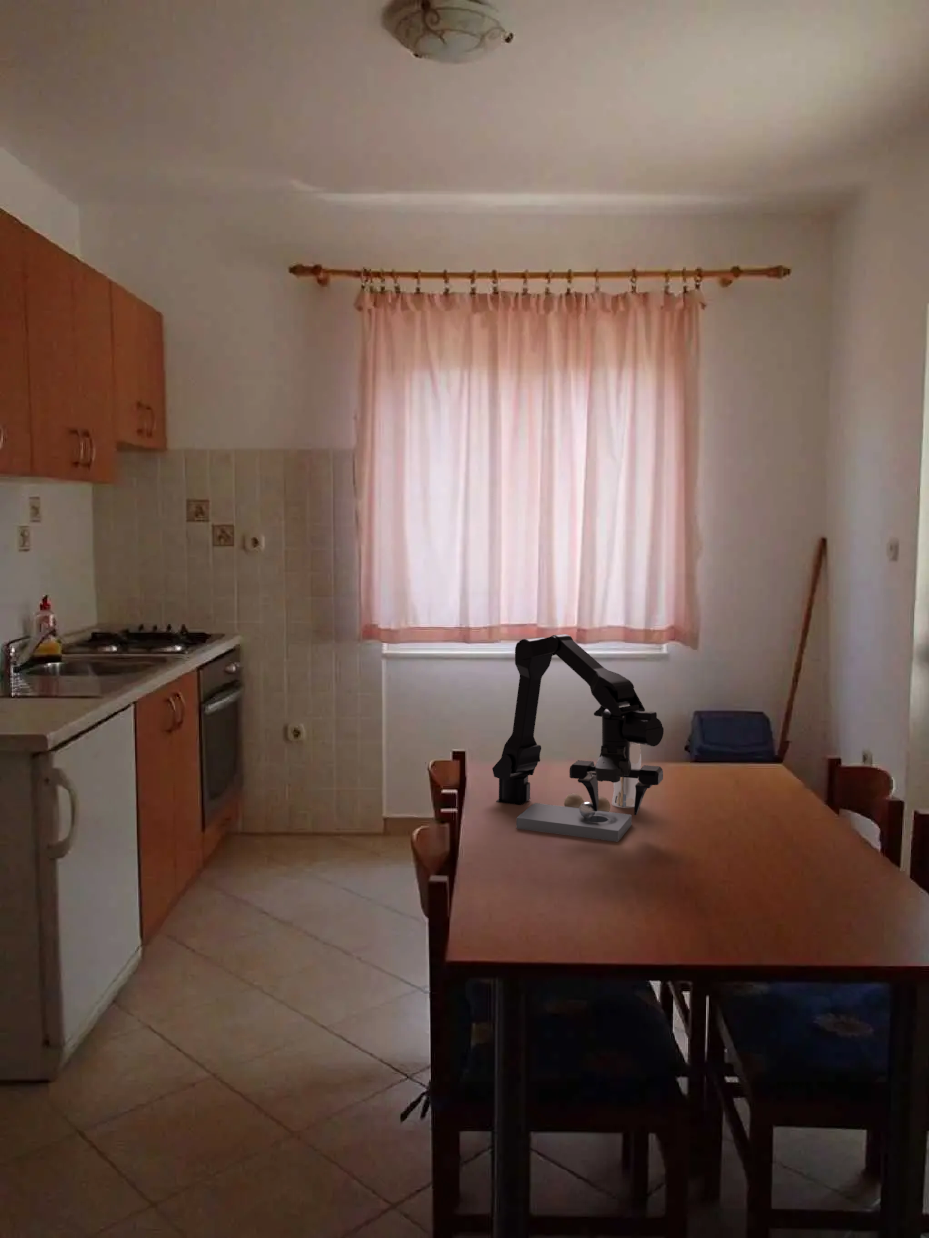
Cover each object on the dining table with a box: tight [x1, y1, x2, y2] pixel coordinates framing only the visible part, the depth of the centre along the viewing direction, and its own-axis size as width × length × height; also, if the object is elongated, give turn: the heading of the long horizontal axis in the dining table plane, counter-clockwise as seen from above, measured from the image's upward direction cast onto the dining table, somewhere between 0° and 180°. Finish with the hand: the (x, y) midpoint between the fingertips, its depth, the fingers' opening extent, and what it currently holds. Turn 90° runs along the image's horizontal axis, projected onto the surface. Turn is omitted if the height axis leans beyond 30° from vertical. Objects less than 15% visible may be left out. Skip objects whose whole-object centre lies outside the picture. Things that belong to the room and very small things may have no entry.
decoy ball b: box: [590, 795, 611, 812], centre depth 208 cm, size 4×4×4 cm
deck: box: [515, 802, 633, 843], centre depth 200 cm, size 22×12×2 cm, turn 67°
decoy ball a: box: [563, 792, 585, 808], centre depth 210 cm, size 4×4×4 cm
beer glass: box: [611, 742, 642, 809], centre depth 216 cm, size 7×7×15 cm
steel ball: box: [579, 801, 596, 818], centre depth 199 cm, size 4×4×4 cm
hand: (616, 812), depth 196 cm, fingers open, 8 cm apart
